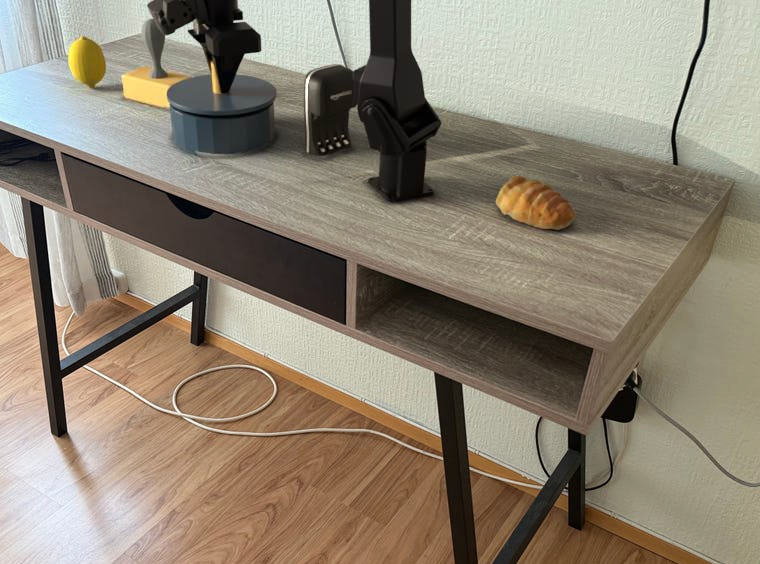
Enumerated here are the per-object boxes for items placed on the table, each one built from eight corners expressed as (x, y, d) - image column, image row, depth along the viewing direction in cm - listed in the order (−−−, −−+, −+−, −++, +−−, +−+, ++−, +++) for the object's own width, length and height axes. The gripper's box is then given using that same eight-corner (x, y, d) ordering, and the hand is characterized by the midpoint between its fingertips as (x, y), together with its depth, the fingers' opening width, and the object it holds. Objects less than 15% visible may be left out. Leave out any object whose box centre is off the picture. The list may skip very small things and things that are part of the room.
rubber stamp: (197, 100, 128) (190, 20, 120) (173, 111, 124) (164, 29, 116) (148, 88, 131) (138, 9, 124) (123, 98, 127) (111, 18, 120)
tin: (288, 149, 113) (288, 111, 110) (188, 163, 109) (184, 125, 105) (256, 114, 124) (254, 79, 121) (163, 126, 119) (159, 89, 116)
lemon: (66, 91, 130) (57, 39, 125) (85, 80, 134) (76, 29, 129) (97, 95, 128) (89, 43, 123) (115, 84, 133) (108, 33, 128)
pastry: (584, 221, 98) (590, 192, 96) (552, 240, 94) (558, 210, 92) (520, 195, 104) (525, 167, 101) (488, 212, 100) (491, 183, 97)
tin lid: (292, 111, 110) (291, 72, 107) (182, 126, 105) (178, 85, 102) (256, 77, 121) (255, 41, 118) (156, 89, 116) (151, 51, 113)
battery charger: (320, 163, 110) (320, 78, 103) (302, 154, 112) (301, 70, 105) (359, 150, 114) (361, 67, 107) (341, 142, 116) (342, 60, 109)
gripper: (132, -45, 107) (148, 75, 116) (167, -13, 93) (181, 120, 103) (215, -50, 110) (223, 67, 120) (260, -20, 97) (265, 109, 106)
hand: (221, 89), depth 112 cm, fingers closed on tin lid, 2 cm apart
